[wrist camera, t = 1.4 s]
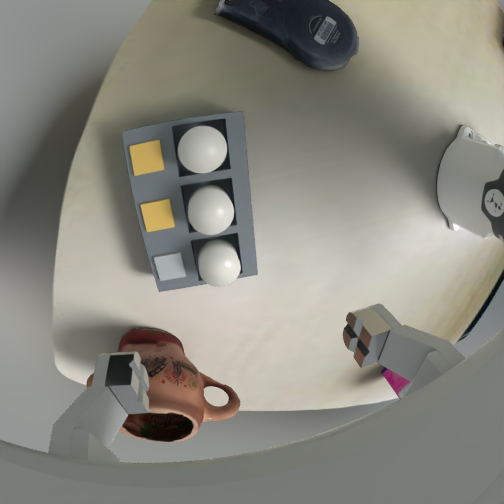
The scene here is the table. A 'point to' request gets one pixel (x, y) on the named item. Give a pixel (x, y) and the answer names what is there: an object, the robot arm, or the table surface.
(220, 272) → the button
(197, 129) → the end button
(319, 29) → the electronic device
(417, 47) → the table surface
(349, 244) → the table surface
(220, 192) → the middle button
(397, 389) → the supplement box
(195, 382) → the character mug
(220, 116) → the button panel
